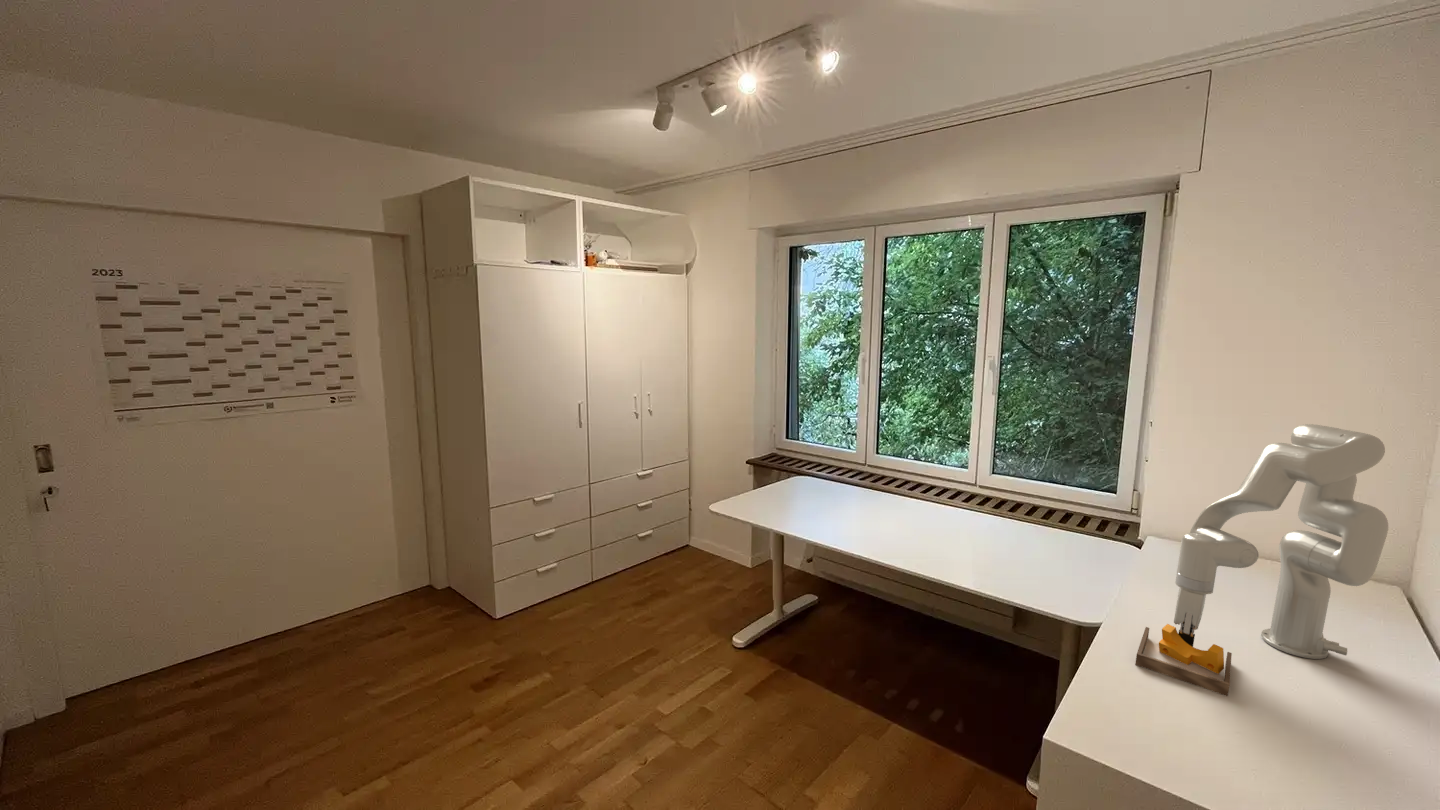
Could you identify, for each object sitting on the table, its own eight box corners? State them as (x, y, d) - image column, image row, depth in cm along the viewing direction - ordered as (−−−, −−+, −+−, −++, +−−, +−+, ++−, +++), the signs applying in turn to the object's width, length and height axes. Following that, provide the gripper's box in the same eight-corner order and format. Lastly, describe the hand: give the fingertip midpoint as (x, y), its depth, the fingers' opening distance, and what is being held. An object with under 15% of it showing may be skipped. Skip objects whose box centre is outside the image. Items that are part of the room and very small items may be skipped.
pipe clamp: (1159, 651, 149) (1157, 632, 147) (1168, 642, 150) (1167, 623, 148) (1214, 678, 138) (1213, 657, 136) (1224, 668, 140) (1223, 648, 138)
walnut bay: (1229, 663, 144) (1231, 652, 143) (1227, 696, 132) (1229, 684, 131) (1144, 636, 156) (1145, 626, 155) (1135, 664, 143) (1136, 653, 143)
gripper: (1178, 567, 153) (1169, 630, 156) (1172, 587, 142) (1163, 653, 145) (1215, 576, 148) (1205, 640, 151) (1212, 597, 137) (1201, 666, 140)
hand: (1184, 646), depth 148 cm, fingers closed
